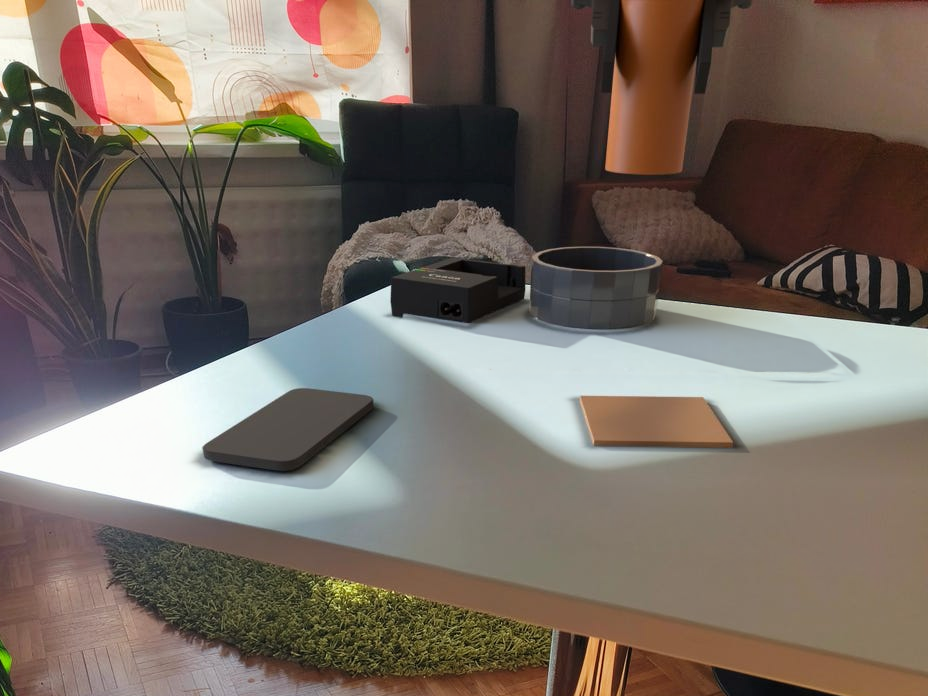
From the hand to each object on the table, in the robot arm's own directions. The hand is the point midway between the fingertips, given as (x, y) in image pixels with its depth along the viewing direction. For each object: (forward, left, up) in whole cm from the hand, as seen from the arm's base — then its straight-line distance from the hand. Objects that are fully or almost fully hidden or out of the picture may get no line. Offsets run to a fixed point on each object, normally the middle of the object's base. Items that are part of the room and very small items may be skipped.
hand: (654, 77), depth 64 cm
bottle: (-1, -4, -6) cm, 7 cm away
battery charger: (+14, -25, -22) cm, 37 cm away
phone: (+26, +13, -22) cm, 36 cm away
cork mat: (-1, +10, -22) cm, 24 cm away
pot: (0, -22, -22) cm, 31 cm away
